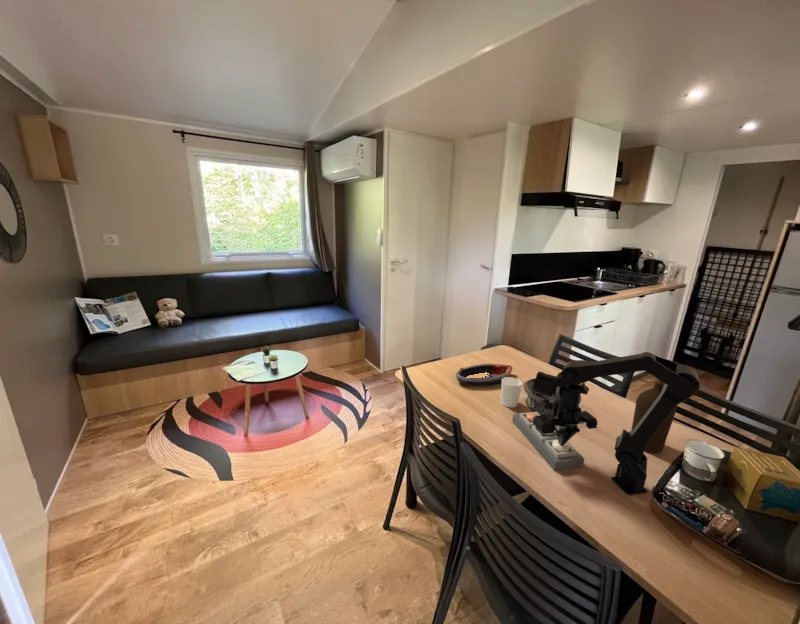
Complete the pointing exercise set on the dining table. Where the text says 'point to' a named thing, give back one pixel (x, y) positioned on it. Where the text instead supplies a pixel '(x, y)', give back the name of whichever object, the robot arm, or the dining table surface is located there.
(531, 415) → the terracotta button
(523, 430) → the button panel
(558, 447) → the cream button
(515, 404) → the white cup
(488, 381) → the dish
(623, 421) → the dining table surface
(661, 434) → the olive oil
